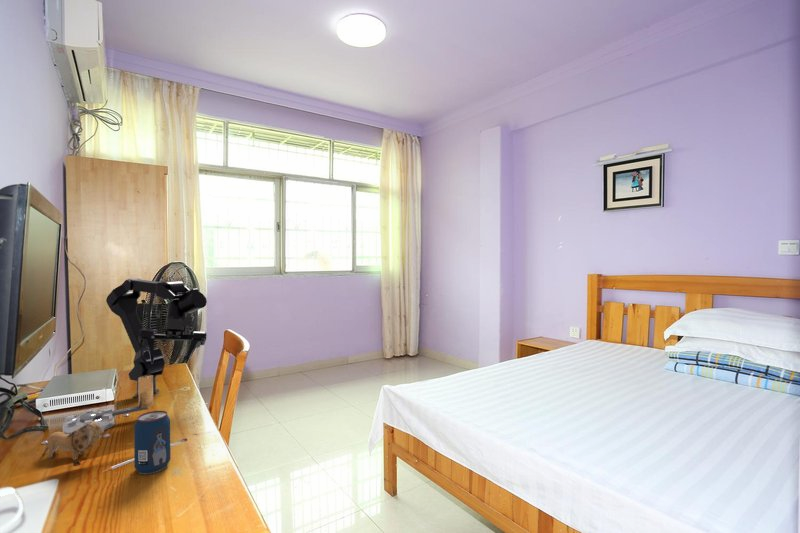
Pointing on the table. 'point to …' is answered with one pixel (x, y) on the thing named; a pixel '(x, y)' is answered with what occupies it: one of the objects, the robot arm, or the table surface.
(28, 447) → the table surface
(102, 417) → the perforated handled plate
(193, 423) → the table surface
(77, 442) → the lion figurine
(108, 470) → the pencil
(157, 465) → the soda can
